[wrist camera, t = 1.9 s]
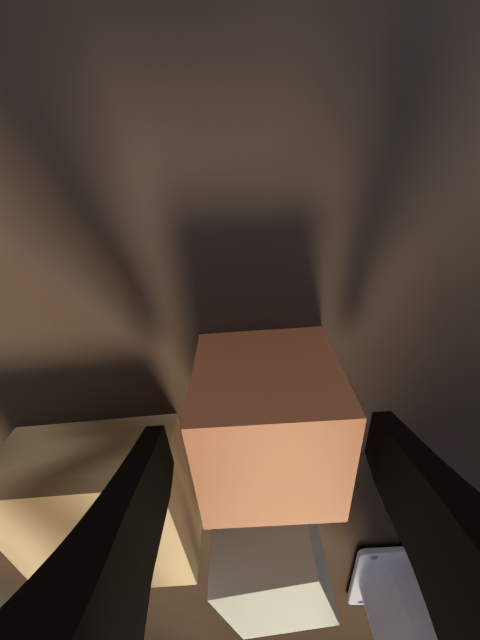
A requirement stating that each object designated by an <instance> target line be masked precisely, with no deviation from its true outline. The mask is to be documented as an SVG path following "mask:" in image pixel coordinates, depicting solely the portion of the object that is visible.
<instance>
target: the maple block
mask: <svg viewBox="0 0 480 640" xmlns="http://www.w3.org/2000/svg"><path fill="white" fill-rule="evenodd" d="M157 425H164V426H165V430H166V434H167V438H168V441H169V445H170V449H171V453H172V456H173V460H174V470H173V480H172V488H171V495H170V500H169V505H168V509H167V514H166V518H165V523H164V527H163V532H162V536H161V541H160V545H159V550H158V554H157V559H156V563H155V568H154V573H153V578H152V583H151V587H166V586H182V585H197V578H198V567H199V555H200V544H201V532H202V519H201V515H200V510H199V506H198V502H197V497H196V493H195V488H194V484H193V480H192V475H191V471H190V466H189V462H188V457H187V453H186V449H185V444H184V440H183V435H182V431H181V426H180V423H179V419H178V415H177V413H176V414H164V415H153V416H141V417H130V418H118V419H107V420H95V421H84V422H72V423H61V424H49V425H38V426H26V427H16V428H15V429H14V430H13V431H12V433H11V434H10V435H9V436H8V438H7V439H6V440H5V442H4V443H3V444H2V445H1V447H0V551H1V552H2V553H3V554H4V555H5V556H6V557H7V558H8V560H9V561H10V562H11V563H12V564H13V565H14V566H15V567H16V568H17V569H18V570H19V571H20V572H21V573H22V574H23V575H24V576H25V577H26V578H27V580H28V579H29V578H30V577H31V576H32V575H33V574H34V573H35V571H36V570H37V569H38V568H39V567H40V566H41V565H42V564H43V563H44V562H45V561H46V559H47V558H48V557H49V556H50V555H51V554H52V553H53V552H54V551H55V549H56V548H57V547H58V546H59V545H60V544H61V542H62V541H63V540H64V539H65V538H66V537H67V535H68V534H69V533H70V532H71V531H72V529H73V528H74V527H75V526H76V524H77V523H78V522H79V521H80V520H81V518H82V517H83V516H84V514H85V513H86V512H87V511H88V509H89V508H90V507H91V505H92V504H93V503H94V501H95V500H96V499H97V497H98V496H99V495H100V494H101V492H102V491H103V489H104V488H105V487H106V485H107V484H108V483H109V481H110V480H111V478H112V477H113V475H114V474H115V473H116V471H117V470H118V468H119V467H120V465H121V464H122V462H123V461H124V459H125V458H126V456H127V455H128V453H129V452H130V450H131V449H132V447H133V446H134V444H135V443H136V441H137V439H138V438H139V436H140V435H141V433H142V431H143V430H144V428H145V427H146V426H157Z"/></svg>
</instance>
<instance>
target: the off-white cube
mask: <svg viewBox="0 0 480 640" xmlns="http://www.w3.org/2000/svg"><path fill="white" fill-rule="evenodd" d="M207 601H208V602H209V603H210V604H211V605H212V606H213V607H214V608H215V609H216V610H217V612H218V613H219V614H220V615H221V616H222V617H223V618H224V619H225V620H226V621H227V622H228V623H229V624H230V626H231V627H232V628H233V629H234V630H235V631H236V632H237V633H238V634H239V635H240V636H241V637H242V638H243V639H250V638H256V637H263V636H270V635H276V634H283V633H290V632H296V631H303V630H310V629H316V628H323V627H330V626H336V625H339V620H338V615H337V611H336V606H335V602H334V597H333V593H332V588H331V584H330V579H329V575H328V570H327V566H326V561H325V557H324V552H323V548H322V543H321V539H320V534H319V530H318V525H317V524H300V525H281V526H262V527H243V528H224V529H212V530H211V547H210V564H209V581H208V598H207Z"/></svg>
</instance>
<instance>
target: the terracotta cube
mask: <svg viewBox="0 0 480 640" xmlns="http://www.w3.org/2000/svg"><path fill="white" fill-rule="evenodd" d="M366 420H367V418H366V416H365V414H364V412H363V410H362V408H361V406H360V404H359V402H358V400H357V398H356V396H355V394H354V392H353V390H352V387H351V385H350V383H349V381H348V379H347V377H346V375H345V373H344V371H343V369H342V367H341V365H340V363H339V361H338V359H337V357H336V355H335V353H334V351H333V349H332V347H331V345H330V343H329V341H328V339H327V337H326V335H325V332H324V330H323V328H322V326H319V327H303V328H288V329H272V330H257V331H241V332H226V333H211V334H199V338H198V343H197V349H196V354H195V359H194V365H193V370H192V375H191V380H190V386H189V391H188V396H187V401H186V407H185V412H184V417H183V422H182V428H181V431H182V435H183V440H184V444H185V449H186V453H187V457H188V462H189V466H190V471H191V475H192V480H193V484H194V488H195V493H196V497H197V502H198V506H199V510H200V515H201V519H202V524H203V528H204V530H206V529H224V528H243V527H262V526H281V525H300V524H318V523H337V522H348V517H349V511H350V506H351V500H352V495H353V490H354V484H355V479H356V473H357V468H358V463H359V457H360V452H361V447H362V441H363V436H364V430H365V425H366Z"/></svg>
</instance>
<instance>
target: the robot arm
mask: <svg viewBox="0 0 480 640" xmlns="http://www.w3.org/2000/svg"><path fill="white" fill-rule="evenodd" d="M365 455H366V458H367V461H368V464H369V467H370V471H371V474H372V477H373V480H374V482H375V485H376V487H377V489H378V492H379V494H380V496H381V498H382V501H383V503H384V505H385V507H386V510H387V512H388V514H389V516H390V518H391V521H392V523H393V525H394V527H395V530H396V532H397V534H398V536H399V538H400V541H401V543H402V545H403V546H396V547H377V548H363V549H360V550H359V551H358V553H357V557H356V561H355V565H354V570H353V574H352V578H351V582H350V586H349V591H348V595H347V599H348V603H349V604H351V605H363V604H364V607H365V610H366V614H367V617H368V621H369V624H370V628H371V631H372V635H373V638H374V640H480V492H478V491H477V490H476V489H475V488H474V487H472V486H471V485H470V484H469V483H468V482H467V481H465V480H464V479H463V478H462V477H461V476H460V475H458V474H457V473H456V472H455V471H454V470H453V469H452V468H451V467H449V466H448V465H447V464H446V463H445V462H444V461H443V460H442V459H441V458H439V457H438V456H437V455H436V454H435V453H434V452H433V451H432V450H431V449H430V448H429V447H428V446H426V445H425V444H424V443H423V442H422V441H421V440H420V439H419V438H418V437H417V436H416V435H415V434H414V433H413V432H412V431H411V430H410V429H409V428H408V427H407V426H406V425H405V424H403V423H402V422H401V421H400V420H399V419H398V418H397V417H396V416H395V415H394V414H393V413H392V412H391V411H385V412H373V413H372V418H371V422H370V427H369V432H368V437H367V442H366V447H365ZM173 470H174V460H173V456H172V453H171V449H170V445H169V441H168V438H167V434H166V430H165V426H164V425H157V426H146V427H145V428H144V430H143V431H142V433H141V435H140V436H139V438H138V439H137V441H136V443H135V444H134V446H133V447H132V449H131V450H130V452H129V453H128V455H127V456H126V458H125V459H124V461H123V462H122V464H121V465H120V467H119V468H118V470H117V471H116V473H115V474H114V475H113V477H112V478H111V480H110V481H109V483H108V484H107V485H106V487H105V488H104V489H103V491H102V492H101V494H100V495H99V496H98V497H97V499H96V500H95V501H94V503H93V504H92V505H91V507H90V508H89V509H88V511H87V512H86V513H85V514H84V516H83V517H82V518H81V520H80V521H79V522H78V523H77V524H76V526H75V527H74V528H73V529H72V531H71V532H70V533H69V534H68V535H67V537H66V538H65V539H64V540H63V541H62V542H61V544H60V545H59V546H58V547H57V548H56V549H55V551H54V552H53V553H52V554H51V555H50V556H49V557H48V558H47V559H46V561H45V562H44V563H43V564H42V565H41V566H40V567H39V568H38V569H37V570H36V571H35V573H34V574H33V575H32V576H31V577H30V578H29V579H28V580H27V581H26V582H25V583H24V584H23V585H22V586H21V587H20V588H19V590H18V591H17V592H16V593H15V594H14V595H13V596H12V597H11V598H10V599H9V600H8V601H7V602H6V603H5V604H4V605H3V606H2V607H1V608H0V640H144V632H145V625H146V618H147V610H148V603H149V596H150V589H151V583H152V578H153V573H154V568H155V563H156V559H157V554H158V550H159V545H160V541H161V536H162V532H163V527H164V523H165V518H166V514H167V509H168V505H169V500H170V495H171V488H172V480H173Z"/></svg>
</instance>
